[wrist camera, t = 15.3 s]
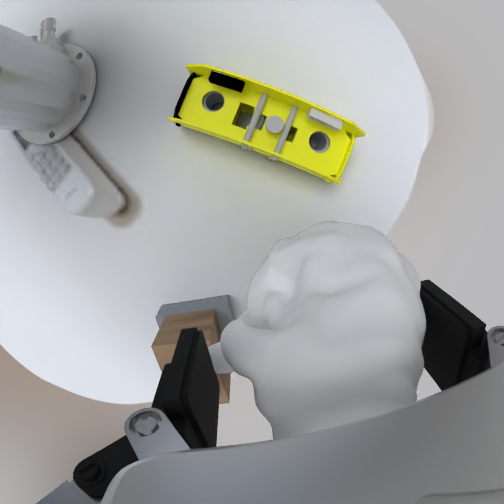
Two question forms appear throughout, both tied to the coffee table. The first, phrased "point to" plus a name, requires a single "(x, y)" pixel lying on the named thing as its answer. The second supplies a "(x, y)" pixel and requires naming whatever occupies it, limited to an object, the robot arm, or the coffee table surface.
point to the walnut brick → (170, 334)
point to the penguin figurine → (328, 330)
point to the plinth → (217, 303)
